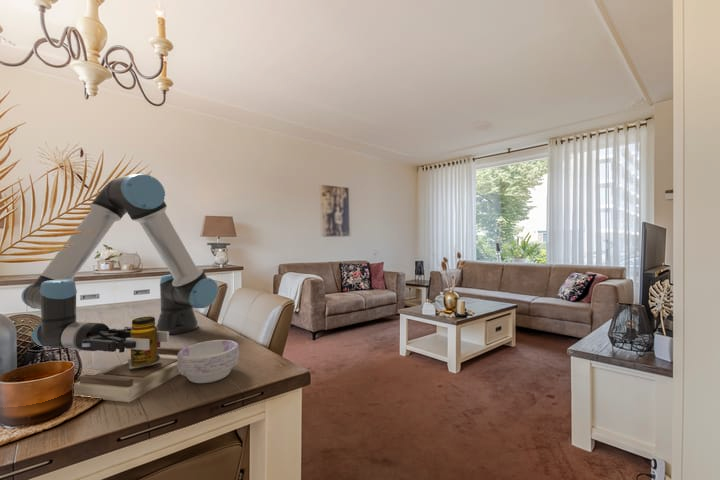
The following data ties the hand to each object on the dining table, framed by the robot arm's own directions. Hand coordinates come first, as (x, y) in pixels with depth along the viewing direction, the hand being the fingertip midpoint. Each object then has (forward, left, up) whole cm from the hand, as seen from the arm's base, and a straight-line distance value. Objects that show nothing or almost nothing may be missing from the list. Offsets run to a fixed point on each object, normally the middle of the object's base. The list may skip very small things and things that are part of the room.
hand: (158, 340), depth 90 cm
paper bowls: (-4, +12, -11) cm, 17 cm away
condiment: (-1, -5, -6) cm, 8 cm away
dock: (0, -5, -10) cm, 12 cm away
